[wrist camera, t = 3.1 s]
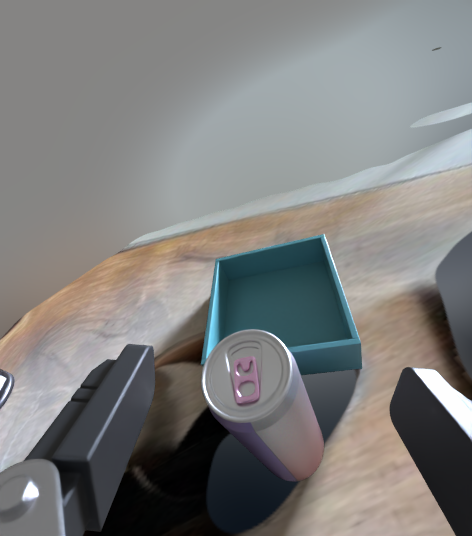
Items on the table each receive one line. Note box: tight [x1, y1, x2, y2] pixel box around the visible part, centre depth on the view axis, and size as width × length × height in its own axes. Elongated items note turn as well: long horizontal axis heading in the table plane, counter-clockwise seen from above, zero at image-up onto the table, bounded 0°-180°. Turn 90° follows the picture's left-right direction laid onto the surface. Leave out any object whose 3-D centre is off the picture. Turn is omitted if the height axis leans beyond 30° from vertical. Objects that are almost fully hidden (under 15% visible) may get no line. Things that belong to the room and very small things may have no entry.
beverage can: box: [201, 329, 324, 481], centre depth 21 cm, size 6×6×15 cm
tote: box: [201, 234, 362, 375], centre depth 35 cm, size 17×16×5 cm
